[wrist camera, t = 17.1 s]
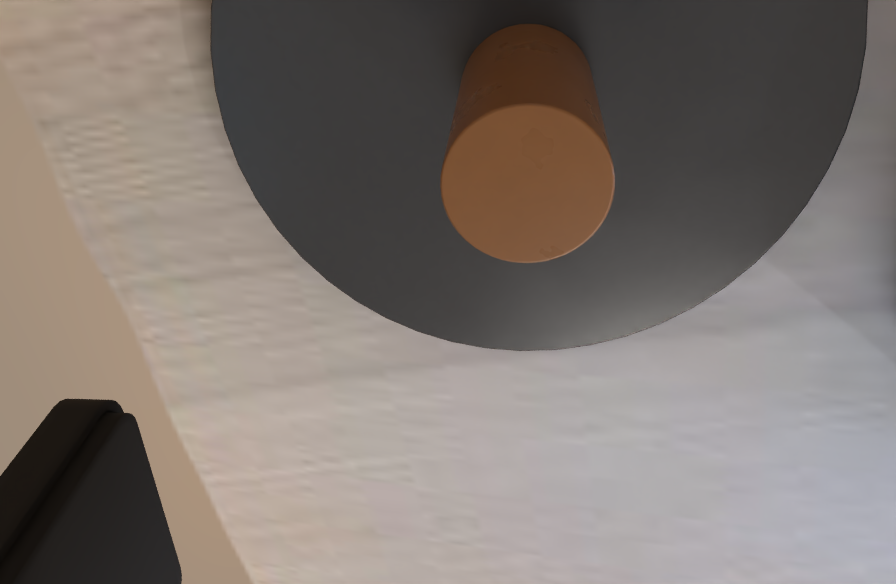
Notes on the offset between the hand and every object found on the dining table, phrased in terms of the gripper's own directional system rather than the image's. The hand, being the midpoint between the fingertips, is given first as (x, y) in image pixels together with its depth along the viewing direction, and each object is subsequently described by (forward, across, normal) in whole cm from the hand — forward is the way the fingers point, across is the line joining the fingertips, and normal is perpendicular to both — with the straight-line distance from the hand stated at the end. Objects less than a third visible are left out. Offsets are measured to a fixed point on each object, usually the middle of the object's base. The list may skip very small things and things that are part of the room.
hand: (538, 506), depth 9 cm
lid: (+16, 0, 0) cm, 16 cm away
